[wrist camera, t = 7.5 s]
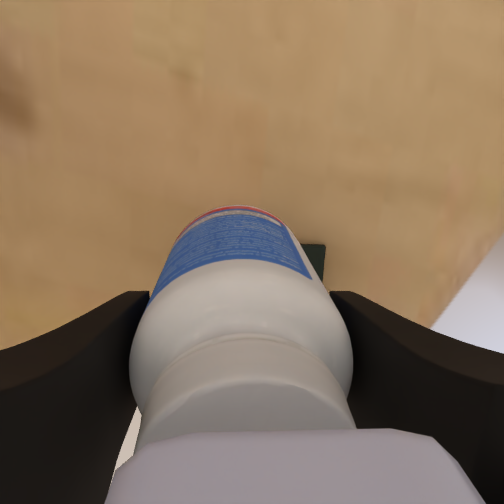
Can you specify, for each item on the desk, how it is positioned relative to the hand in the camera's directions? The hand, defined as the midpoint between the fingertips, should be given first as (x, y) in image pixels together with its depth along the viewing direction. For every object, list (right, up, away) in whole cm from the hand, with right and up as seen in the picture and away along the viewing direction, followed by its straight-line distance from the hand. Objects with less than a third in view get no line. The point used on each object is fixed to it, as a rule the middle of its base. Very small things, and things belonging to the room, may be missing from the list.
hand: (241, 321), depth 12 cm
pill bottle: (0, +1, +4) cm, 5 cm away
